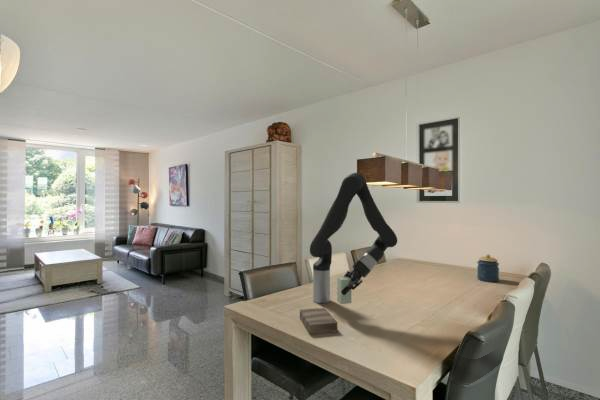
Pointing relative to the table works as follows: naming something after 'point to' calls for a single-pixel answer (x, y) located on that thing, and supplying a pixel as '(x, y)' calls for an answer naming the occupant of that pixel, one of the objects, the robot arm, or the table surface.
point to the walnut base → (318, 321)
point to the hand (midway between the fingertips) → (340, 291)
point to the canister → (488, 269)
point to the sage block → (341, 285)
